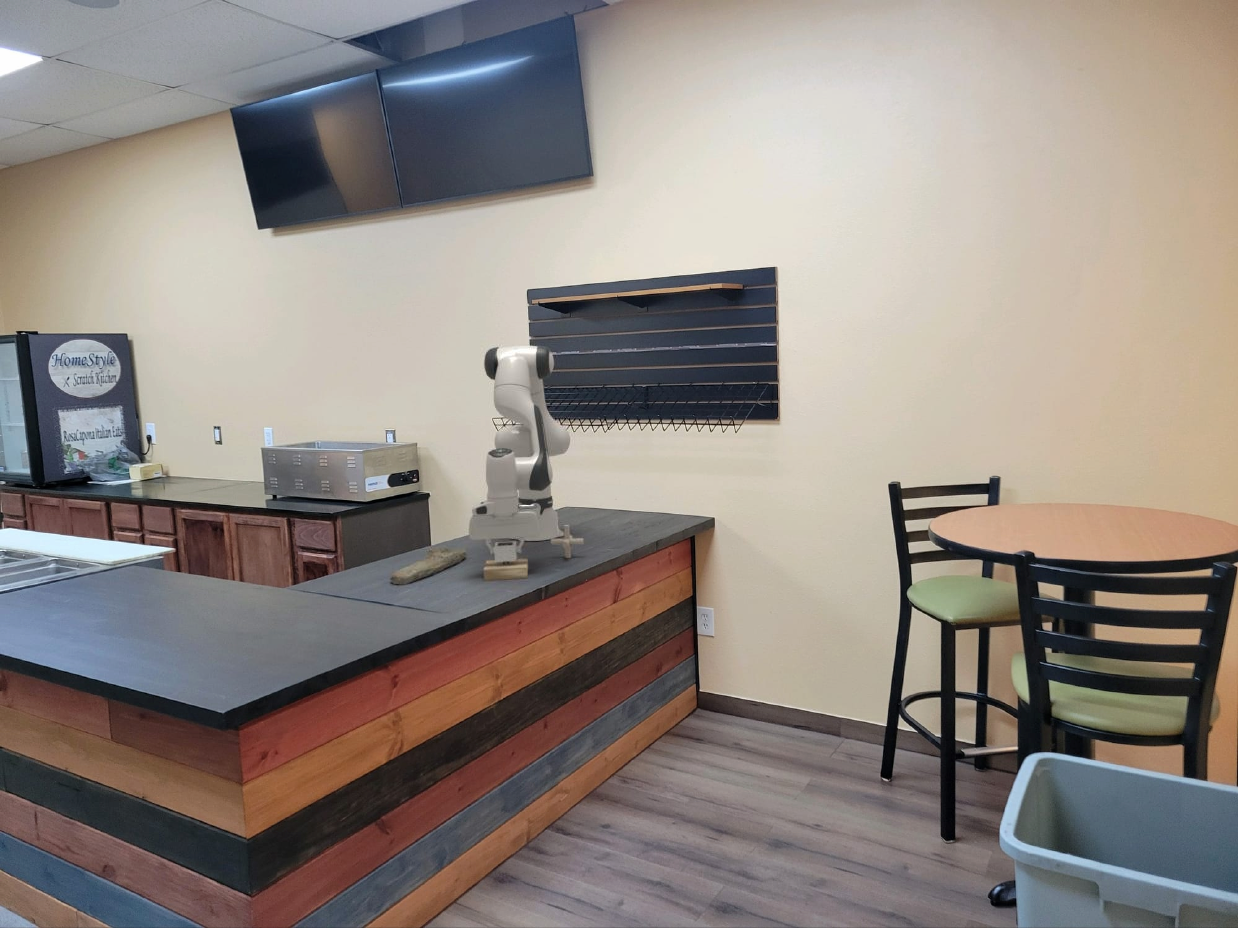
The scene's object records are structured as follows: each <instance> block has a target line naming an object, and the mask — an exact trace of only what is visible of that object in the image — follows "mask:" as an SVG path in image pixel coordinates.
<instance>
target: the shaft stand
mask: <svg viewBox="0 0 1238 928" xmlns="http://www.w3.org/2000/svg"><path fill="white" fill-rule="evenodd" d="M506 545H508V544H504V545H502V546H506ZM528 573H529V561H528V557H520V558H518V557H517V559H516V561H504V562H495V559H486V561H485V564H484V567H483V580H484V581H497V580H499V579H500V580H512V579H513V580H516V579H528Z"/></svg>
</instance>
